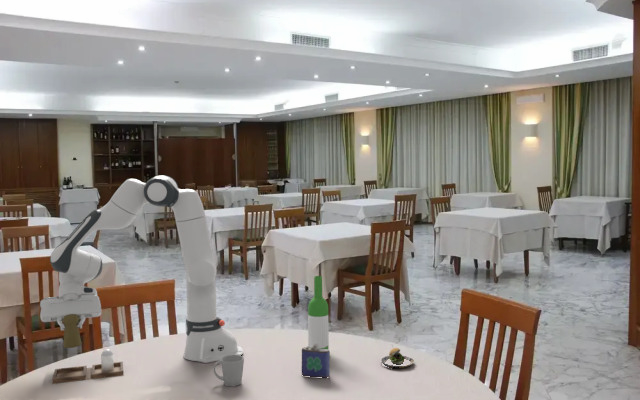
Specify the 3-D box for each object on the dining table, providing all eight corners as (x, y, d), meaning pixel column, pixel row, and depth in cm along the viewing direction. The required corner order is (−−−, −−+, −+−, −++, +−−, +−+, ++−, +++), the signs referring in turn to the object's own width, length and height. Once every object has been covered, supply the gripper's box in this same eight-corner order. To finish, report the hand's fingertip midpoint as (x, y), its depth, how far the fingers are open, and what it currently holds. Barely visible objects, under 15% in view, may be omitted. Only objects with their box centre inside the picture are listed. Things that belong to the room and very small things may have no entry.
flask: (330, 376, 202) (330, 343, 201) (328, 379, 199) (327, 346, 198) (302, 373, 205) (302, 341, 204) (300, 377, 202) (299, 344, 201)
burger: (391, 372, 206) (391, 352, 205) (375, 362, 217) (375, 342, 216) (420, 368, 211) (420, 347, 210) (403, 358, 221) (403, 338, 221)
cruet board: (122, 368, 211) (122, 360, 211) (123, 379, 200) (123, 371, 199) (55, 375, 203) (55, 368, 203) (52, 388, 192) (52, 380, 192)
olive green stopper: (74, 348, 205) (73, 317, 204) (59, 347, 206) (57, 316, 205) (84, 343, 211) (83, 312, 210) (69, 342, 212) (68, 312, 211)
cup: (244, 387, 192) (243, 361, 192) (213, 388, 191) (212, 363, 191) (244, 378, 200) (244, 354, 199) (214, 380, 199) (214, 355, 198)
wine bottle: (332, 352, 227) (332, 275, 225) (321, 358, 220) (321, 279, 218) (315, 349, 231) (315, 273, 229) (304, 355, 224) (303, 277, 222)
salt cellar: (113, 368, 206) (113, 347, 205) (113, 372, 202) (113, 350, 202) (101, 370, 205) (101, 348, 204) (101, 373, 201) (100, 351, 200)
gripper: (39, 293, 210) (37, 327, 202) (100, 288, 217) (101, 320, 208) (41, 303, 215) (39, 336, 206) (101, 297, 221) (102, 329, 213)
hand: (71, 328), depth 207 cm, fingers closed on olive green stopper, 4 cm apart
